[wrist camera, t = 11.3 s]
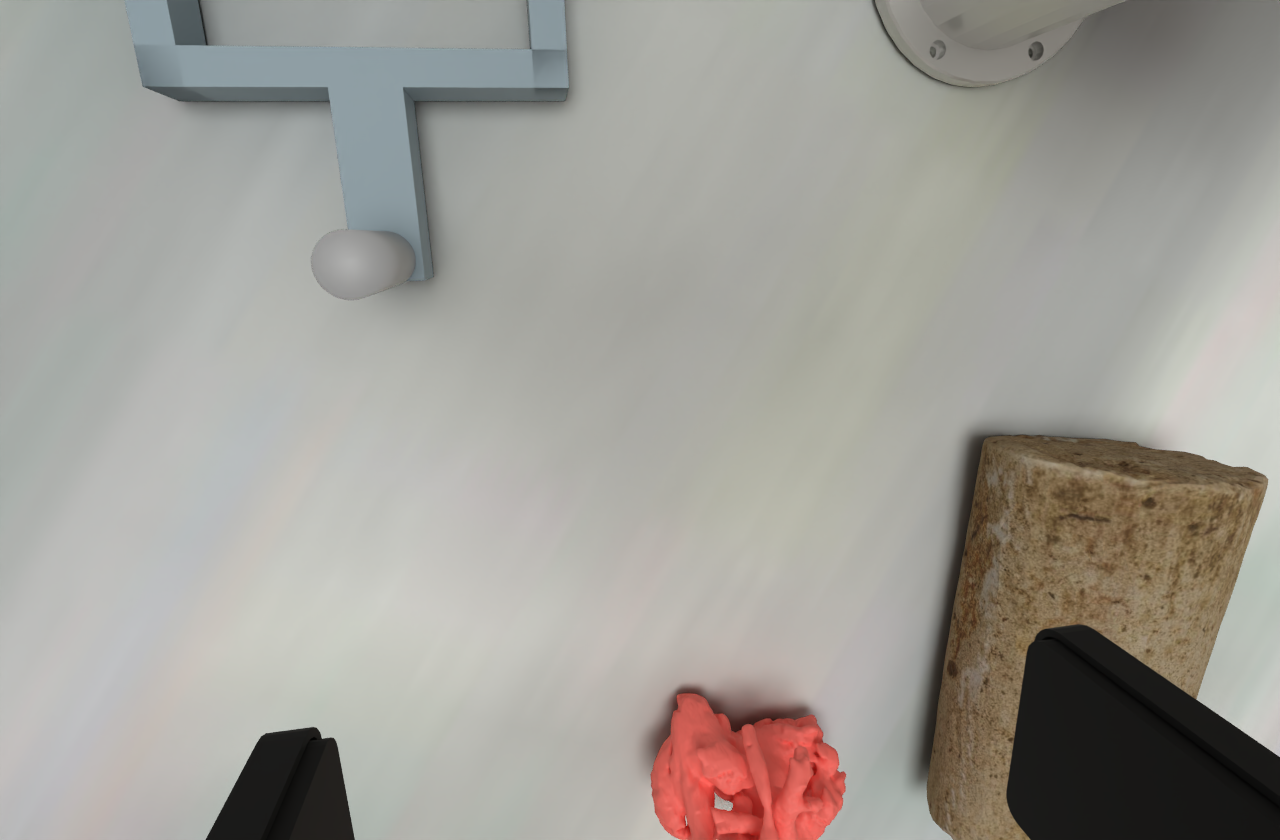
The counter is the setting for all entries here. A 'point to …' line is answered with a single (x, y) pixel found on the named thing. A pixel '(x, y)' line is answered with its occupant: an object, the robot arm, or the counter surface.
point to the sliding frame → (356, 117)
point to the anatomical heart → (744, 777)
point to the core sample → (1077, 589)
